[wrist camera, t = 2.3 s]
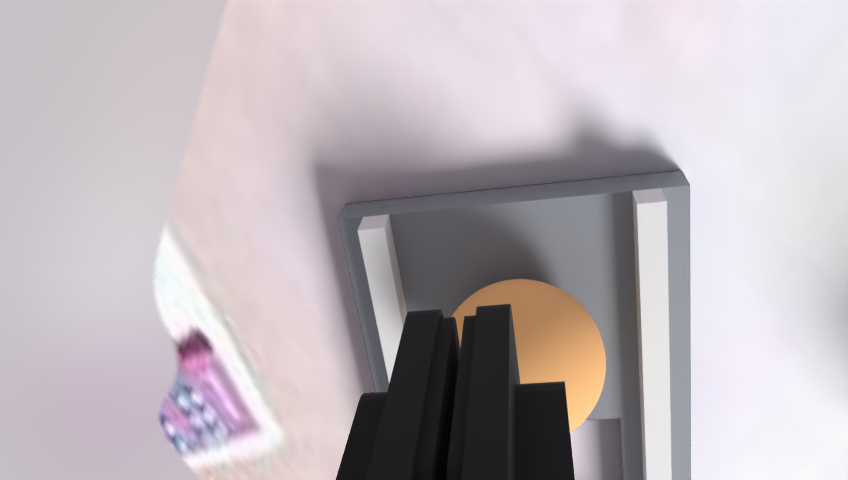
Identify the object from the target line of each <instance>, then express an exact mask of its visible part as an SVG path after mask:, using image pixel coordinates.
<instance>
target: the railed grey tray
mask: <svg viewBox="0 0 848 480" xmlns="http://www.w3.org/2000/svg"><path fill="white" fill-rule="evenodd" d="M338 222H339V226H340V231H341V235H342V240H343V245H344V249H345V254H346V258H347V263H348V268H349V272H350V277H351V281H352V286H353V290H354V295H355V300H356V304H357V309H358V313H359V318H360V323H361V327H362V332H363V336H364V341H365V345H366V350H367V355H368V359H369V364H370V368H371V373H372V378H373V382H374V387H375V391H376V392H387V391H388V387H389V383H390V379H391V375H392V371H393V367H394V363H395V359H396V355H397V351H398V347H399V343H400V339H401V334H402V330H403V326H404V322H405V318H406V315H407V312H409V311H422V310H435V309H441V310H442V312H443V315H444V318H446V317H452V315H453V313H454V312H455V311H456V310H457V308H458V307H459V306H460V305H461V304H462V303H463V302H464V301H465V300H466V299H467V298H468V297H470V296H471V295H472V294H474V293H475V292H477V291H479V290H480V289H482V288H484V287H486V286H489V285H491V284H494V283H497V282H501V281H505V280H512V279H529V280H536V281H541V282H544V283H547V284H550V285H553V286H555V287H557V288H559V289H561V290H563V291H565V292H566V293H568V294H569V295H571V296H572V297H573V298H574V299H575V300H577V301H578V302H579V303H580V304H581V305H582V306H583V307H584V308H585V309H586V311H587V312H588V313H589V315H590V316H591V318H592V319H593V321H594V322H595V324H596V326H597V328H598V330H599V332H600V335H601V339H602V342H603V345H604V349H605V356H606V373H605V379H604V385H603V389H602V392H601V394H600V397H599V399H598V402H597V403H596V405H595V407H594V409H593V410H592V412H591V413H590V414H589V416H588V417H587V418H586V420H596V419H616V418H619V422H620V441H621V460H622V479H623V480H691V362H690V184H689V183H688V181H687V179H686V177H685V175H684V174H683V172H682V170H680V171H670V172H660V173H650V174H640V175H630V176H620V177H610V178H600V179H590V180H580V181H570V182H560V183H550V184H540V185H529V186H519V187H509V188H499V189H489V190H479V191H469V192H459V193H449V194H439V195H429V196H419V197H409V198H399V199H389V200H379V201H369V202H359V203H349V204H345V206H344V208H343V210H342V212H341V214H340V216H339V218H338Z"/></svg>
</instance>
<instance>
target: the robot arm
mask: <svg viewBox="0 0 848 480" xmlns="http://www.w3.org/2000/svg"><path fill="white" fill-rule="evenodd" d="M336 480H575V478H574V468H573V458H572V448H571V438H570V428H569V418H568V408H567V398H566V388H565V381H561V382H544V383H527V384H520V376H519V367H518V359H517V350H516V342H515V333H514V325H513V316H512V309H511V304H501V305H488V306H477V308H476V315H473V316H464V322H463V331H462V339H461V348H460V343H459V336H458V329H457V323H456V319H455V317H446V318H444V315H443V312H442V310H441V309H435V310H422V311H409V312H407V315H406V318H405V322H404V326H403V330H402V334H401V339H400V343H399V347H398V351H397V355H396V359H395V363H394V367H393V371H392V375H391V379H390V383H389V387H388V391H387V392H376V393H364V394H363V395H362V396H361V398H360V400H359V403H358V407H357V410H356V413H355V417H354V420H353V424H352V427H351V430H350V434H349V437H348V440H347V444H346V447H345V451H344V454H343V457H342V461H341V464H340V467H339V471H338V474H337V477H336Z"/></svg>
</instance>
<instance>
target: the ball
mask: <svg viewBox="0 0 848 480" xmlns="http://www.w3.org/2000/svg"><path fill="white" fill-rule="evenodd" d="M501 304H511V309H512V316H513V325H514V333H515V342H516V350H517V359H518V367H519V376H520V384H527V383H544V382H561V381H565V388H566V398H567V408H568V418H569V428H570V433H571V432H572V431H574V430H575V429H576V428H578V427H579V426H580V425H581V424H582V423H583V422H584V421H585V420H586V418H587V417H588V416H589V414H590V413H591V412H592V410H593V409H594V407H595V405H596V403H597V402H598V399H599V397H600V394H601V392H602V389H603V385H604V379H605V373H606V356H605V349H604V345H603V342H602V339H601V335H600V332H599V330H598V328H597V326H596V324H595V322H594V321H593V319H592V318H591V316H590V315H589V313H588V312H587V311H586V309H585V308H584V307H583V306H582V305H581V304H580V303H579V302H578V301H577V300H575V299H574V298H573V297H572V296H571V295H569V294H568V293H566V292H565V291H563V290H561V289H559V288H557V287H555V286H553V285H550V284H547V283H544V282H541V281H536V280H529V279H512V280H505V281H501V282H497V283H494V284H491V285H489V286H486V287H484V288H482V289H480V290H479V291H477V292H475V293H474V294H472V295H471V296H470V297H468V298H467V299H466V300H465V301H464V302H463V303H462V304H461V305H460V306H459V307H458V308H457V310H456V311H455V312H454V313H453V315H452V317H455V319H456V323H457V329H458V336H459V343H460V348H461V339H462V331H463V322H464V316H473V315H476V308H477V306H488V305H501Z"/></svg>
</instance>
